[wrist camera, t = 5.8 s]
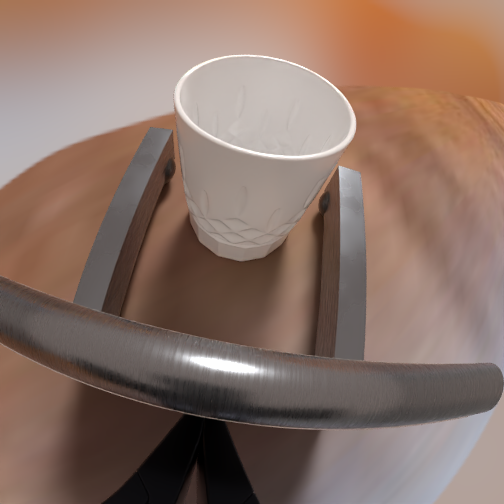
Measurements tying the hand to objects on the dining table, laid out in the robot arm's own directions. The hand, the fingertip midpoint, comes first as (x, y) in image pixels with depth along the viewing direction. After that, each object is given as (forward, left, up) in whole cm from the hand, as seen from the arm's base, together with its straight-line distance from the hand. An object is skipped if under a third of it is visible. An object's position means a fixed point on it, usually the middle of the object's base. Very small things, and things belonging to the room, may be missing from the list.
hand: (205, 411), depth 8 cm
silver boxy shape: (+5, -5, -7) cm, 10 cm away
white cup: (+9, -8, -7) cm, 14 cm away
